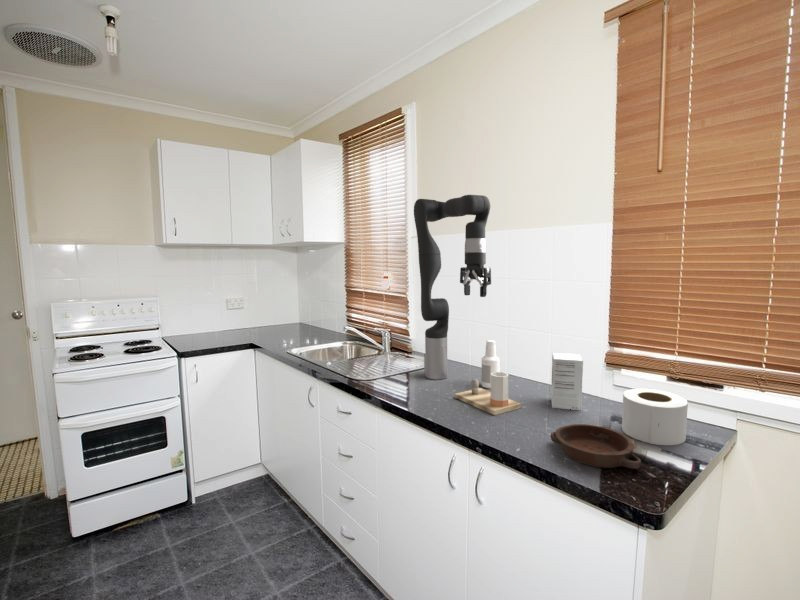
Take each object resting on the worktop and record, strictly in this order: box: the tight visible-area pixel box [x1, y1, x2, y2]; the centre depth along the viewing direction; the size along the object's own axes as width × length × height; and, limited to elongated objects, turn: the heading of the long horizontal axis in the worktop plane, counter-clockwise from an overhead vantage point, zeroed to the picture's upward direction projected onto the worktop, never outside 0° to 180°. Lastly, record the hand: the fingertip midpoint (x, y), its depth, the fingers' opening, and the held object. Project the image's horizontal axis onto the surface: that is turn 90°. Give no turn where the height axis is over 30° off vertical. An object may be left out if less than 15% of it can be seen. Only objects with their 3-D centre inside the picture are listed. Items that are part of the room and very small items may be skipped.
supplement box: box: [550, 352, 584, 411], centre depth 140 cm, size 10×9×17 cm
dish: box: [550, 423, 642, 470], centre depth 105 cm, size 18×22×5 cm
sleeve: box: [490, 371, 509, 407], centre depth 138 cm, size 6×6×10 cm
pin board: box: [454, 378, 522, 416], centre depth 143 cm, size 20×12×6 cm, turn 31°
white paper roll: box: [621, 388, 689, 446], centre depth 117 cm, size 16×15×11 cm
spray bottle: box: [480, 339, 501, 390], centre depth 161 cm, size 7×7×18 cm
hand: (474, 296), depth 152 cm, fingers open, 8 cm apart
